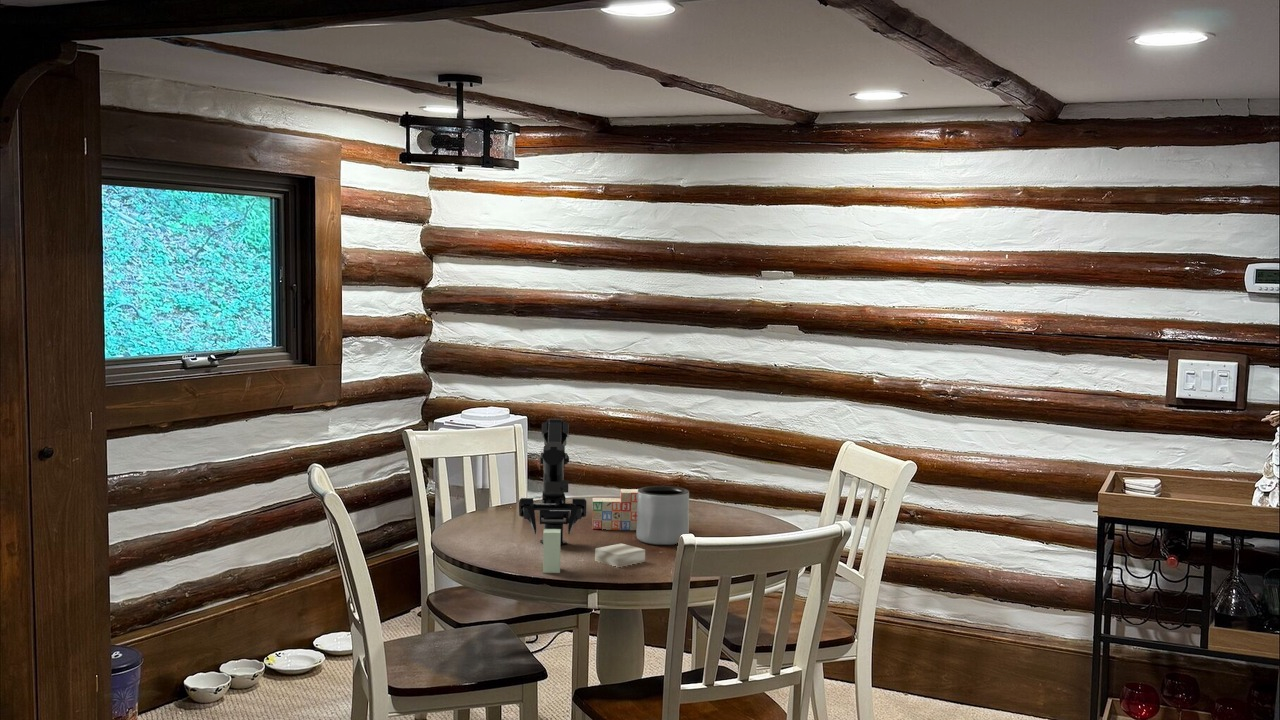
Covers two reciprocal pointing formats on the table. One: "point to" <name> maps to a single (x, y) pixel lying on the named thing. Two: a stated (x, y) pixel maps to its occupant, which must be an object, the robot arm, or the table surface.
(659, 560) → the table surface
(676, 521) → the planter
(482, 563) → the table surface
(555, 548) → the tall sage block
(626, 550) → the cream base block
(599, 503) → the stack of blocks
